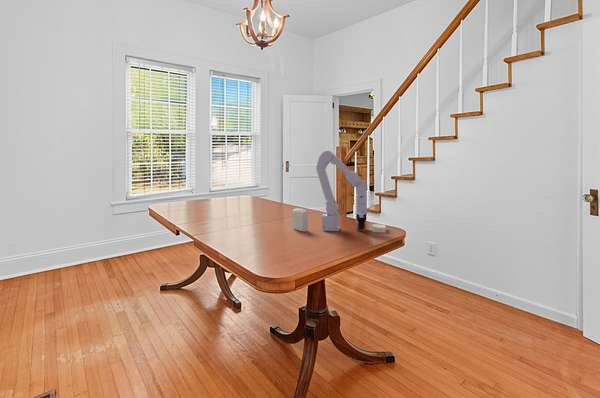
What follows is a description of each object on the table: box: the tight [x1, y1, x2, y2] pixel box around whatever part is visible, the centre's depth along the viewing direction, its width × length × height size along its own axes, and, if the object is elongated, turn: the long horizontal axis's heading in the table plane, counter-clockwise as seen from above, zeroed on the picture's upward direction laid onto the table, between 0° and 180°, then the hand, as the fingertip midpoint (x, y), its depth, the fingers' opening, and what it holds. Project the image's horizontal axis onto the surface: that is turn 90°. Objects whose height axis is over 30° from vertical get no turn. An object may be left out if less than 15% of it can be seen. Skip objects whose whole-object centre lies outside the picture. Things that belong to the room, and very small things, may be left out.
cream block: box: [371, 223, 387, 233], centre depth 179 cm, size 7×7×3 cm
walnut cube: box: [356, 221, 366, 232], centre depth 181 cm, size 4×4×4 cm
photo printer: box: [291, 207, 309, 233], centre depth 183 cm, size 10×4×12 cm, turn 40°
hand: (361, 227), depth 181 cm, fingers open, 6 cm apart
